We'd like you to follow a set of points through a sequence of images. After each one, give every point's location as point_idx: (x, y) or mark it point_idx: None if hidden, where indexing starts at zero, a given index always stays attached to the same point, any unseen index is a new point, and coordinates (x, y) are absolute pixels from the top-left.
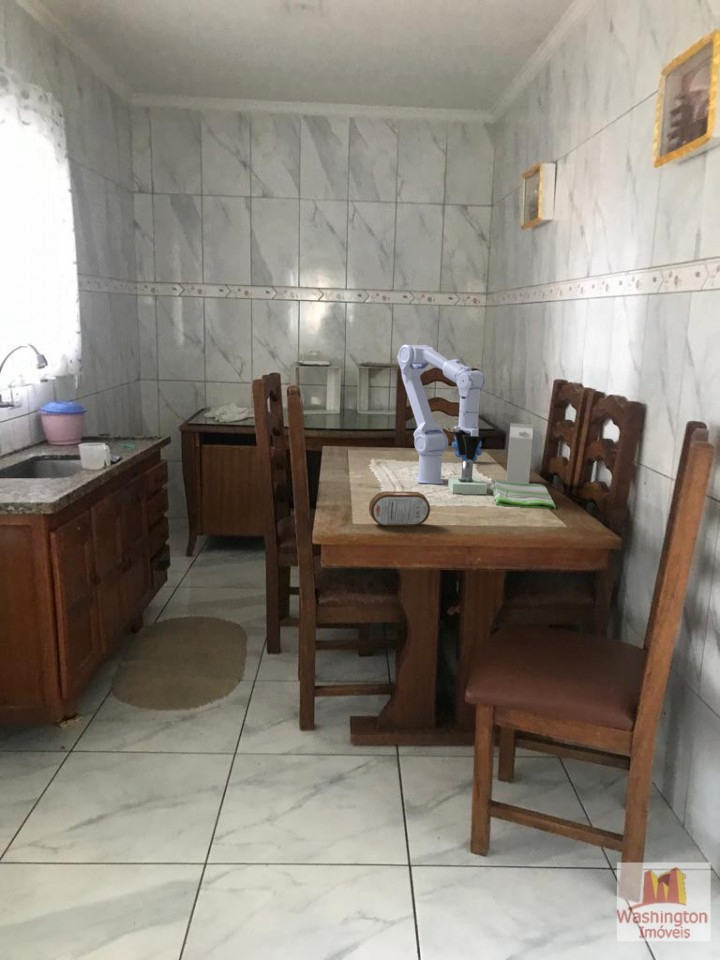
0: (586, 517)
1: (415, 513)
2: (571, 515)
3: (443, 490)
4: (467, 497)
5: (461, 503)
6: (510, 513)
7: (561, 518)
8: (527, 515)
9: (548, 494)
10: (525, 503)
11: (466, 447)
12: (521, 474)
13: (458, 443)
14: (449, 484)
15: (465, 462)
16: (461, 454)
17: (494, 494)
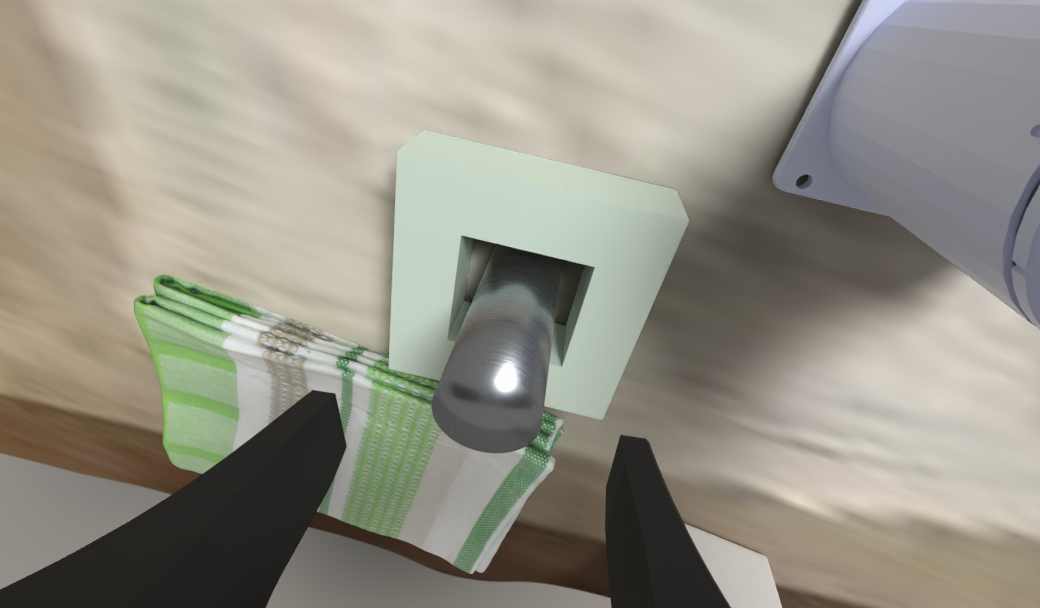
0: (97, 476)
1: None
2: (104, 454)
3: (549, 98)
4: (326, 195)
5: (134, 80)
6: (15, 268)
7: (38, 409)
8: (18, 321)
9: (361, 527)
10: (162, 390)
11: (162, 501)
12: None
13: (647, 577)
14: (604, 183)
15: (445, 380)
16: (618, 454)
17: (332, 349)
